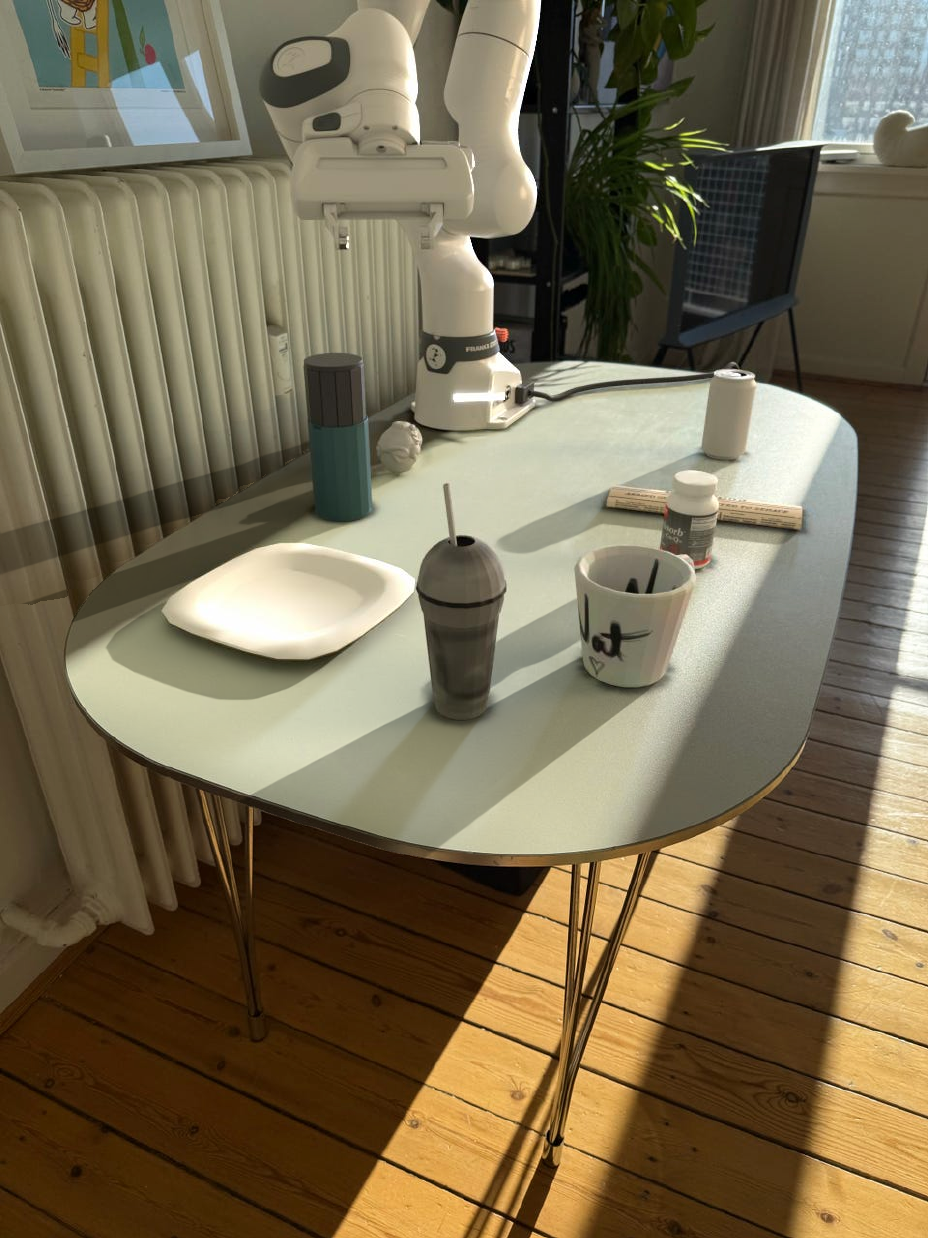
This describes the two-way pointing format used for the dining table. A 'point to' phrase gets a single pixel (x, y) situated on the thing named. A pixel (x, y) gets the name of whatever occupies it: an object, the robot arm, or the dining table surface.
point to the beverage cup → (460, 618)
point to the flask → (341, 471)
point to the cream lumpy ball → (399, 447)
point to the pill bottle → (691, 516)
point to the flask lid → (335, 389)
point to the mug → (631, 611)
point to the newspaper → (726, 512)
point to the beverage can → (728, 413)
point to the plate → (290, 601)
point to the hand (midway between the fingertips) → (384, 245)
